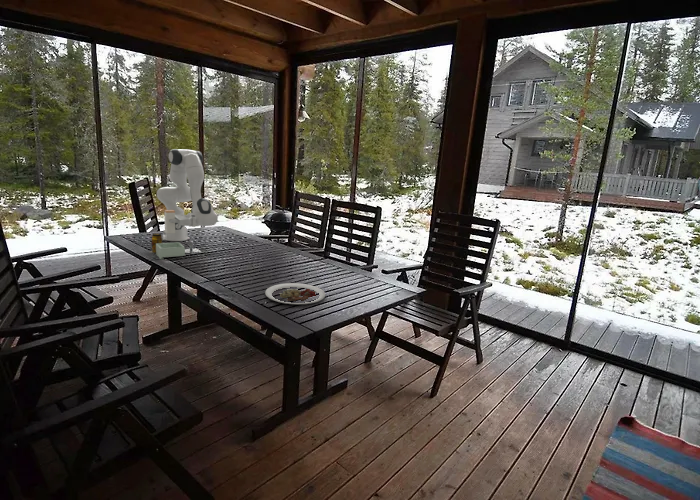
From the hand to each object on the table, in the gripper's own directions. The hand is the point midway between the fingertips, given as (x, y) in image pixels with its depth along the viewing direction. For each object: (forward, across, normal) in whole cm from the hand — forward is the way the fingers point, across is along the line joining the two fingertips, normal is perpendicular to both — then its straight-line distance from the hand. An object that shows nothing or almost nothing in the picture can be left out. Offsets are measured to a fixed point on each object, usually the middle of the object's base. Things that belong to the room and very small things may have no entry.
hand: (168, 220), depth 240 cm
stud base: (-15, -5, +23) cm, 28 cm away
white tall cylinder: (-1, 0, +8) cm, 8 cm away
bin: (-1, 0, +23) cm, 23 cm away
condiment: (+4, -13, +23) cm, 27 cm away
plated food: (-40, +94, +24) cm, 105 cm away
